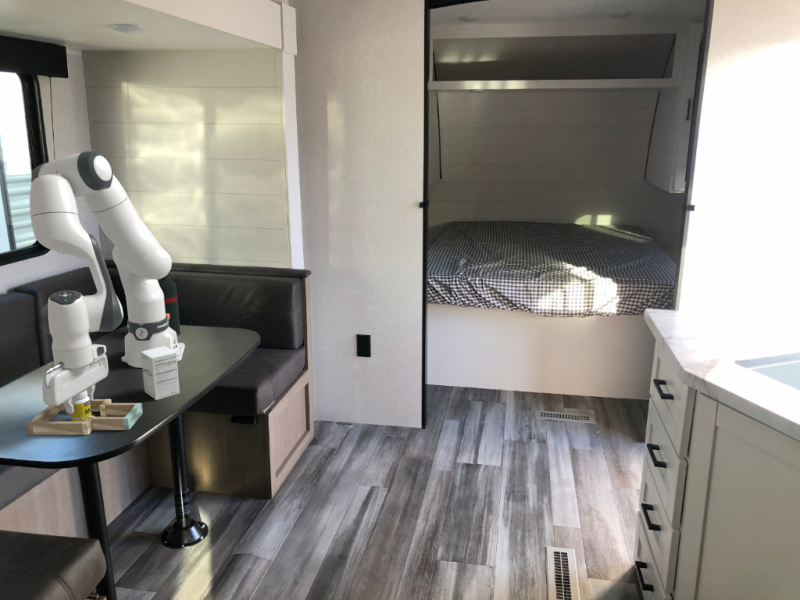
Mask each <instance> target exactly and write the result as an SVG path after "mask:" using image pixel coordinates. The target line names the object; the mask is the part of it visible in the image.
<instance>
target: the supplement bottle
mask: <svg viewBox="0 0 800 600" xmlns="http://www.w3.org/2000/svg"><path fill="white" fill-rule="evenodd" d="M71 403H72V404H73V405H76V411H75V412H74V413H72V414H70V421H85V420H86V419H87V418H88V417H89V416H93V414H92V411H91V407H90V399H89V397H88V396H87V390H86V389H85V390H83V391H82V392H80V393H78V394H77V395H75V396H73V397H72V401H71Z"/></svg>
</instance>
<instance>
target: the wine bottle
mask: <svg viewBox="0 0 800 600" xmlns="http://www.w3.org/2000/svg"><path fill="white" fill-rule="evenodd" d="M157 280H158V283H159V286H160V288H161V289H162V291H163V294H164V303H165V314H168V313H169V315H170V316H169V317H170V318H169V320H168V321H169V322H168V323H169V327H170V328H171V329H173V330H174V331H175V332H176V334H177V336H179V335H181V325H180V324H181V321H180V313H179V303H178V292H177V283H175V281H174V280H172V279H170V278H168V274H167V275H166V276H165V277H163V278H161V279H157Z"/></svg>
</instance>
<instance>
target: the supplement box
mask: <svg viewBox="0 0 800 600" xmlns="http://www.w3.org/2000/svg"><path fill="white" fill-rule="evenodd" d="M141 359H142V379H143V389H144V393H146V394H147V395H149V397H152V398H153V399H154V400H156V401H157V400H161V399H165V398H168V397H172V396H175V395H179V394H180V393H181V392H180V382H179V380H180V379H179V370H178V369H179V368H178V361H177V355H176V352H174V351H173V350H171V349H169V348H167V347H165V346H162V347H158V348H154V349H150V350H146V351H142V352H141Z"/></svg>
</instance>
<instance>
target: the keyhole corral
mask: <svg viewBox="0 0 800 600" xmlns="http://www.w3.org/2000/svg"><path fill="white" fill-rule="evenodd" d="M90 407H91V412H100V413H99V414H100V416H95V415H92V416H89V417H88V418H87V419H86V420H85V421H71V420H70V421H69V420H68V421H65V420H62V421H55V420H54V421H53V420H52V419H54V418H55V416H58V414H59V413H61V412H66V407H65V406H64V405H63V404H62V403H61V404H60V405H58V406H52V405H47V407H45V408H44V409H43V410H42V411H40V413H38V414H37V415H36V416H35V417H34V418H32V419H31V420H29V422H27V430H28V436H41V435H42V436H51V435H52V436H62V435H64V436H65V435H66V436H75V435H76V436H77V435H81V436H82V435H84V436H89V435H90V434H91V432H92V431H130V430H131V428H132V427H133V426H134V425H135V424H136V422H137V421H138V420H139V419H140V418H141V416H142V415H143V403H142V402H112V399H111V398H104V399H103V398H101V399H100V398H99V399H98V398H95V399H94V398H93V401H91V402H90ZM129 429H130V430H129Z"/></svg>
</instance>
